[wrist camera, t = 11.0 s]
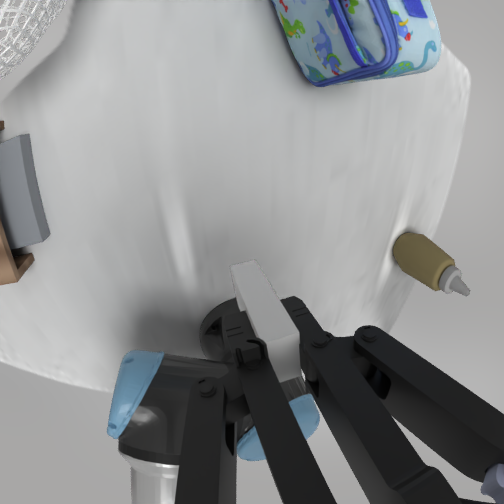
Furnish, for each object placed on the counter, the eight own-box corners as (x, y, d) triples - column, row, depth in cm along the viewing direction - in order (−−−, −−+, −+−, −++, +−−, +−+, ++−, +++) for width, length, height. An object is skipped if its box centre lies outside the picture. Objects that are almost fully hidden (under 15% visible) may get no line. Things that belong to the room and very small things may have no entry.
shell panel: (51, 232, 35) (42, 242, 32) (-3, 246, 33) (-13, 256, 29) (30, 133, 28) (18, 135, 25) (-25, 158, 26) (-38, 162, 23)
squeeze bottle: (382, 261, 52) (444, 315, 36) (398, 222, 49) (469, 267, 33) (407, 266, 54) (466, 314, 38) (422, 231, 51) (487, 273, 36)
